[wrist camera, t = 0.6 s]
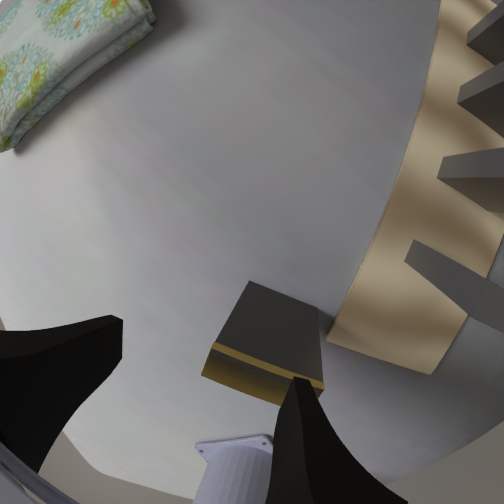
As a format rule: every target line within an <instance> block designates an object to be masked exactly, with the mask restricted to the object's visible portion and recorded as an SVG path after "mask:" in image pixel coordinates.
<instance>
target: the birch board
mask: <svg viewBox="0 0 504 504" xmlns="http://www.w3.org/2000/svg"><path fill="white" fill-rule="evenodd" d="M496 6H497V5H496V4H495V3H493V2H492V1H491V0H441V4H440V12H439V19H438V25H437V31H436V37H435V42H434V48H433V53H432V58H431V62H430V67H429V71H428V76H427V80H426V84H425V88H424V92H423V96H422V100H421V104H420V107H419V111H418V114H417V118H416V121H415V125H414V128H413V131H412V135H411V138H410V141H409V144H408V147H407V150H406V153H405V156H404V159H403V162H402V165H401V168H400V171H399V174H398V177H397V179H396V182H395V185H394V187H393V190H392V193H391V195H390V198H389V201H388V203H387V206H386V208H385V211H384V213H383V216H382V218H381V221H380V223H379V226H378V228H377V230H376V233H375V235H374V237H373V240H372V242H371V244H370V247H369V249H368V251H367V253H366V256H365V258H364V260H363V262H362V264H361V267H360V269H359V271H358V273H357V275H356V277H355V279H354V281H353V284H352V286H351V288H350V290H349V292H348V294H347V296H346V298H345V300H344V302H343V304H342V306H341V308H340V310H339V312H338V313H337V315H336V317H335V319H334V321H333V323H332V325H331V327H330V329H329V330H328V332H327V334H326V336H325V339H326V341H328V342H331V343H334V344H337V345H339V346H342V347H345V348H348V349H351V350H354V351H356V352H359V353H362V354H365V355H368V356H371V357H374V358H377V359H380V360H383V361H386V362H389V363H392V364H396V365H399V366H402V367H405V368H408V369H412V370H415V371H418V372H421V373H425V374H428V375H431V374H432V373H433V371H434V370H435V368H436V367H437V365H438V364H439V362H440V361H441V359H442V358H443V356H444V355H445V353H446V351H447V350H448V348H449V347H450V345H451V343H452V342H453V340H454V338H455V337H456V335H457V333H458V332H459V330H460V328H461V326H462V325H463V323H464V321H465V319H466V317H467V315H468V314H467V313H466V312H465V311H464V310H462V309H461V308H460V307H459V306H458V305H457V304H456V303H454V302H453V301H452V300H451V299H450V298H449V297H447V296H446V295H445V294H444V293H443V292H441V291H440V290H439V289H438V288H437V287H435V286H434V285H433V284H432V283H430V282H429V281H428V280H427V279H426V278H424V277H423V276H422V275H421V274H419V273H418V272H417V271H416V270H414V269H413V268H412V267H410V266H409V265H408V264H407V263H405V262H404V260H405V258H406V255H407V253H408V251H409V249H410V246H411V244H412V242H413V239H414V240H416V241H418V242H420V243H422V244H424V245H426V246H428V247H430V248H432V249H434V250H436V251H437V252H439V253H441V254H443V255H445V256H447V257H449V258H451V259H452V260H454V261H456V262H458V263H460V264H461V265H463V266H465V267H467V268H469V269H470V270H472V271H474V272H476V273H477V274H479V275H481V276H482V277H484V278H486V277H487V274H488V272H489V270H490V267H491V265H492V263H493V260H494V258H495V255H496V253H497V250H498V247H499V245H500V242H501V239H502V236H503V233H504V214H502V213H497V212H491V211H486V210H485V209H484V208H482V207H481V206H479V205H478V204H476V203H475V202H473V201H472V200H470V199H469V198H467V197H466V196H464V195H463V194H461V193H460V192H458V191H457V190H455V189H453V188H452V187H450V186H449V185H447V184H445V183H444V182H442V181H440V180H439V179H437V175H438V172H439V169H440V166H441V162H442V159H443V157H446V156H451V155H457V154H463V153H469V152H475V151H482V150H488V149H495V148H502V147H504V138H503V137H501V136H500V135H499V134H498V133H496V132H495V131H494V130H493V129H491V128H490V127H489V126H487V125H486V124H485V123H484V122H482V121H481V120H480V119H478V118H477V117H475V116H474V115H473V114H471V113H470V112H468V111H467V110H465V109H464V108H463V107H461V106H460V105H458V104H457V100H458V95H459V90H460V86H461V85H463V84H465V83H467V82H468V81H470V80H472V79H473V78H475V77H477V76H478V75H480V74H482V73H484V72H485V71H487V70H489V69H491V68H492V67H494V65H493V64H492V63H490V62H489V61H488V60H486V59H485V58H484V57H482V56H481V55H480V54H478V53H477V52H476V51H474V50H473V49H471V48H470V47H468V46H467V45H466V42H467V32H468V31H469V30H470V29H471V28H473V27H474V26H475V25H476V24H477V23H478V22H479V21H480V20H482V19H483V18H484V17H485V16H486V15H487V14H488V13H489V12H491V11H492V10H493V9H494V8H495V7H496Z"/></svg>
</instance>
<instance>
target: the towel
mask: <svg viewBox="0 0 504 504" xmlns="http://www.w3.org/2000/svg"><path fill="white" fill-rule="evenodd" d="M155 20H156V17H155V15H154V14H153V12H152V8H151V6H150V3H149V1H148V0H16V1H15V2H14V3H13V4H12V5H11V6H10V7H9V8H8V10H7V11H6V12H5V13H4V14H3V15H2V16H1V17H0V153H1V152H4V151H7V150H9V149H11V148H13V147H14V146H16V145H17V144H18V143H19V142H20V139H21V138H22V136H23V135H24V134H25V133H26V131H27V130H29V129H31V128H32V127H33V126H34V125H35V124H36V123H37V122H38V121H39V120H40V119H41V118H42V117H43V116H44V115H45V114H46V113H48V112H49V111H50V110H51V109H52V108H53V107H54V106H55V105H56V104H57V103H58V102H60V101H61V100H62V99H63V98H64V97H65V96H66V95H68V94H69V93H70V92H71V91H72V90H73V89H75V88H76V87H77V86H78V85H79V84H81V83H82V82H83V81H84V80H86V79H87V78H88V77H89V76H91V75H92V74H93V73H95V72H96V71H97V70H99V69H100V68H101V67H103V66H104V65H106V64H107V63H108V62H110V61H111V60H113V59H114V58H116V57H117V56H119V55H120V54H122V53H123V52H124V51H126V50H127V49H129V48H130V47H132V46H133V45H135V44H136V43H137V42H138V41H140V40H141V39H143V38H144V37H145V36H146V35H147V34H148V33H150V32H151V31H153V30H154V28H153V26H152V25H151V24H152V23H153V22H154V21H155Z"/></svg>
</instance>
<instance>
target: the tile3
mask: <svg viewBox="0 0 504 504" xmlns="http://www.w3.org/2000/svg"><path fill="white" fill-rule="evenodd" d="M437 179H439V180H440V181H442V182H444V183H445V184H447V185H449V186H450V187H452V188H453V189H455V190H457V191H458V192H460V193H461V194H463V195H464V196H466V197H467V198H469V199H470V200H472V201H473V202H475V203H476V204H478V205H479V206H481V207H482V208H484V209H485V210H486V211H491V212H497V213H502V214H504V147H502V148H495V149H488V150H482V151H475V152H469V153H463V154H457V155H451V156H446V157H443V159H442V162H441V166H440V169H439V172H438V175H437Z"/></svg>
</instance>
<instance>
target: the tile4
mask: <svg viewBox="0 0 504 504" xmlns="http://www.w3.org/2000/svg"><path fill="white" fill-rule="evenodd" d="M457 104H458V105H460V106H461V107H463V108H464V109H465V110H467V111H468V112H470V113H471V114H473V115H474V116H475V117H477V118H478V119H480V120H481V121H482V122H484V123H485V124H486V125H487V126H489V127H490V128H491V129H493V130H494V131H495V132H496V133H498V134H499V135H500V136H501V137H503V138H504V61H503V62H501V63H499V64H497V65H496V66H494V67H492V68H491V69H489V70H487V71H485V72H484V73H482V74H480V75H478V76H477V77H475V78H473V79H472V80H470V81H468V82H467V83H465V84H463V85H461V86H460V90H459V95H458V100H457Z"/></svg>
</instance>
